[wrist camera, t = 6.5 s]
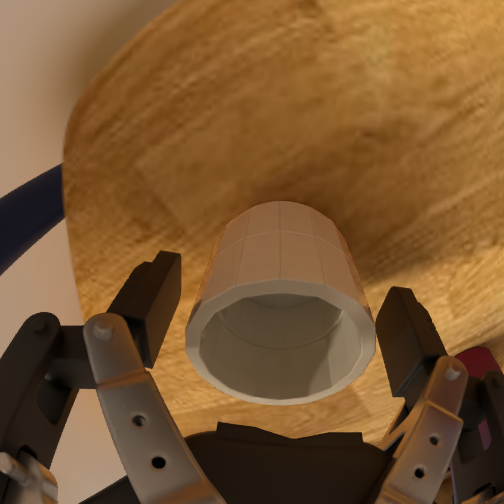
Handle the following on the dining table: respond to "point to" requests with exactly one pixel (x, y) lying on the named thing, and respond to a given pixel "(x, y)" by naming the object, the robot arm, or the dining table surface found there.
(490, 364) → the cup
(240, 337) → the beige hollow round piece
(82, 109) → the dining table surface
